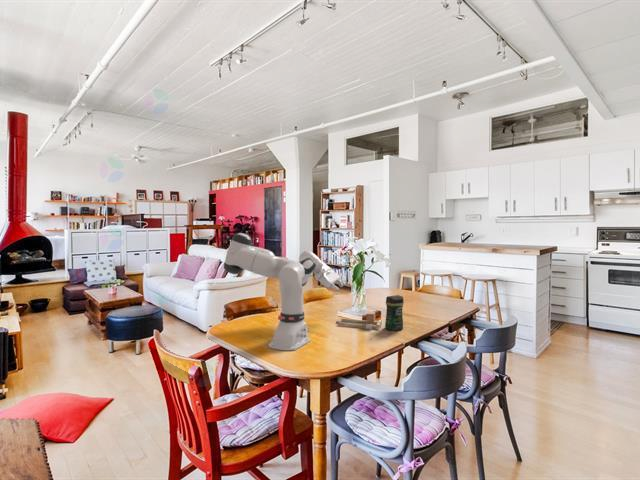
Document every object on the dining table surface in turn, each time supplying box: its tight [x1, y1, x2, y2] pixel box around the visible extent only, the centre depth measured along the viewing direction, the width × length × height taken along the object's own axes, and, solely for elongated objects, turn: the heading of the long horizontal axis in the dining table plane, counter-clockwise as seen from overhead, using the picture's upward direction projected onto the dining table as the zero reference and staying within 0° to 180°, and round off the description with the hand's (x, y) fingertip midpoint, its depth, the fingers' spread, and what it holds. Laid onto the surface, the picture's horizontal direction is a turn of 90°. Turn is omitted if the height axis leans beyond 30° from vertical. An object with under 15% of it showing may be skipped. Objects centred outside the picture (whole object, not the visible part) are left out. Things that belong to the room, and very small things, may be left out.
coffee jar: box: [384, 294, 405, 332], centre depth 199 cm, size 10×8×19 cm
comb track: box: [337, 318, 383, 331], centre depth 204 cm, size 14×24×3 cm, turn 72°
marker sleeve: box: [366, 310, 376, 325], centre depth 202 cm, size 5×4×8 cm
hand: (340, 288), depth 208 cm, fingers open, 8 cm apart
